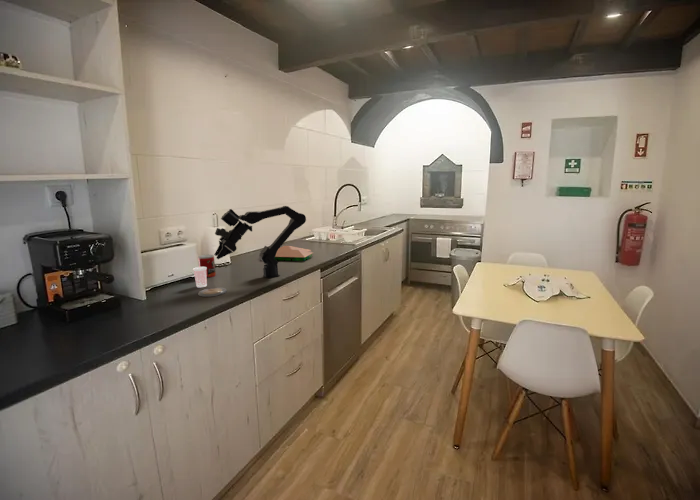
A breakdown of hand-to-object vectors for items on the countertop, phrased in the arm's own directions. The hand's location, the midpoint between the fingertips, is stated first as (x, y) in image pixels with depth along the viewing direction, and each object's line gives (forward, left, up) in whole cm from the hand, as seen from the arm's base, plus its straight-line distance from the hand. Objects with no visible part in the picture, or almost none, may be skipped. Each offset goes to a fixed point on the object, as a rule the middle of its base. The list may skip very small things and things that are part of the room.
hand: (216, 257), depth 173 cm
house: (-57, -31, -14) cm, 66 cm away
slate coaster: (+8, +13, -13) cm, 20 cm away
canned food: (-1, -20, -14) cm, 24 cm away
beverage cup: (+8, -2, -14) cm, 16 cm away
